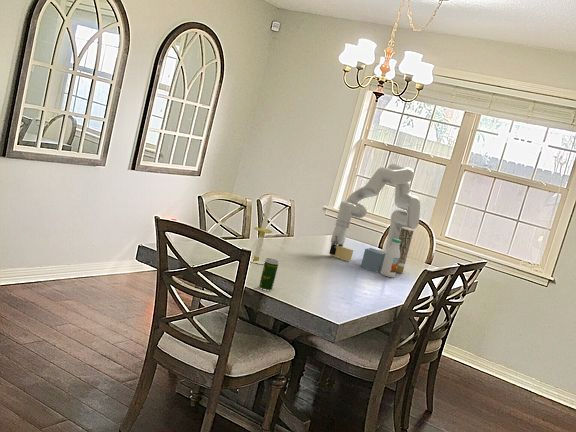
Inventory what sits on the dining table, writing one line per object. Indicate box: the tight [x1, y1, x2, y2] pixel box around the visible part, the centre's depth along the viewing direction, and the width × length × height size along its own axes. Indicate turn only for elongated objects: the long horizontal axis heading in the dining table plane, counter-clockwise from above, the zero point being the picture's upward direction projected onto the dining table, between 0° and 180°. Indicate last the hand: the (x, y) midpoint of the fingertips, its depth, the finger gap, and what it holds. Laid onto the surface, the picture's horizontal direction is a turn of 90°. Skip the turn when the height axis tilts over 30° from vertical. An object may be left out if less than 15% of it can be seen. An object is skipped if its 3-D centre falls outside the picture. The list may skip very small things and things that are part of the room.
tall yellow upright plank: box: [330, 245, 354, 262], centre depth 373 cm, size 1×12×6 cm, turn 65°
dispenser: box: [360, 247, 386, 273], centre depth 365 cm, size 10×10×10 cm
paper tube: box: [396, 227, 415, 274], centre depth 373 cm, size 7×7×25 cm
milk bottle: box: [380, 238, 401, 278], centre depth 356 cm, size 8×8×20 cm
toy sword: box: [253, 193, 273, 262], centre depth 311 cm, size 10×10×32 cm
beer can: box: [258, 257, 279, 291], centre depth 266 cm, size 5×5×12 cm
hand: (335, 253), depth 375 cm, fingers open, 9 cm apart
